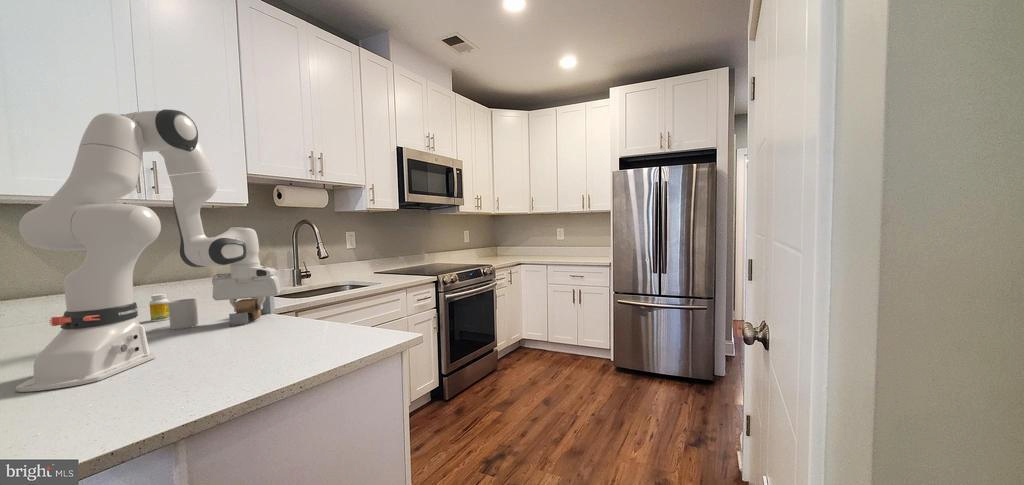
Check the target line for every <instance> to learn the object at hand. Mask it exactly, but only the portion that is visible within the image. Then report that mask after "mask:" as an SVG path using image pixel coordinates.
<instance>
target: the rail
mask: <svg viewBox="0 0 1024 485" xmlns="http://www.w3.org/2000/svg"><path fill="white" fill-rule="evenodd" d="M228 316H229V326H230V327H233V326H232V325H237V326H243V325H242V324H247V325H248V324H249V322H251V321H253V320H252V313H247V312H244V313H236V312H235V313H228ZM250 320H251V321H250ZM248 321H249V322H248Z"/></svg>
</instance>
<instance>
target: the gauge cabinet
mask: <svg viewBox="0 0 1024 485" xmlns="http://www.w3.org/2000/svg"><path fill="white" fill-rule="evenodd" d="M255 298H259V297H255ZM260 301H261V300H260ZM275 305H276V304H275V296H267V297H266V299H265V301H264V303H263V309H261V315H267V314H272V313H274V312H276V309H275Z"/></svg>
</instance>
